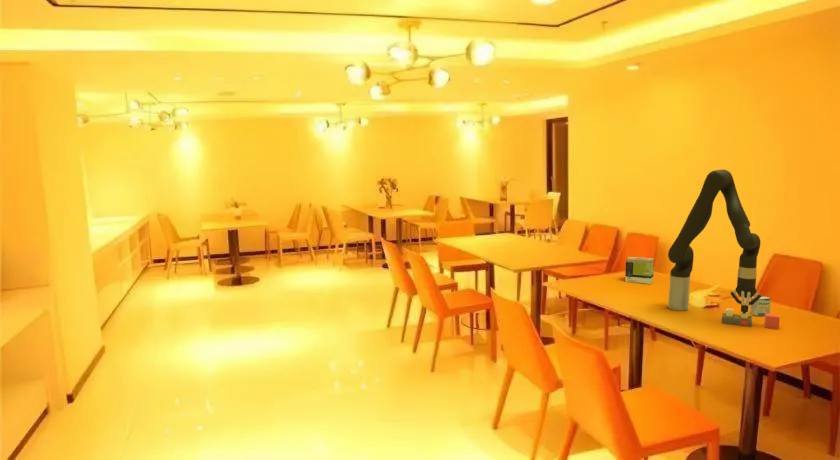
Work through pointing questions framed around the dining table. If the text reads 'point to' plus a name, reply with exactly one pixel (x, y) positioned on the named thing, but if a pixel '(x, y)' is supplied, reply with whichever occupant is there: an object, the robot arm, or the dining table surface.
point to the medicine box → (760, 306)
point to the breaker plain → (729, 312)
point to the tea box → (639, 270)
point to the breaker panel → (736, 320)
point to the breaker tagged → (744, 315)
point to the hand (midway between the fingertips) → (744, 312)
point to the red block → (771, 321)
